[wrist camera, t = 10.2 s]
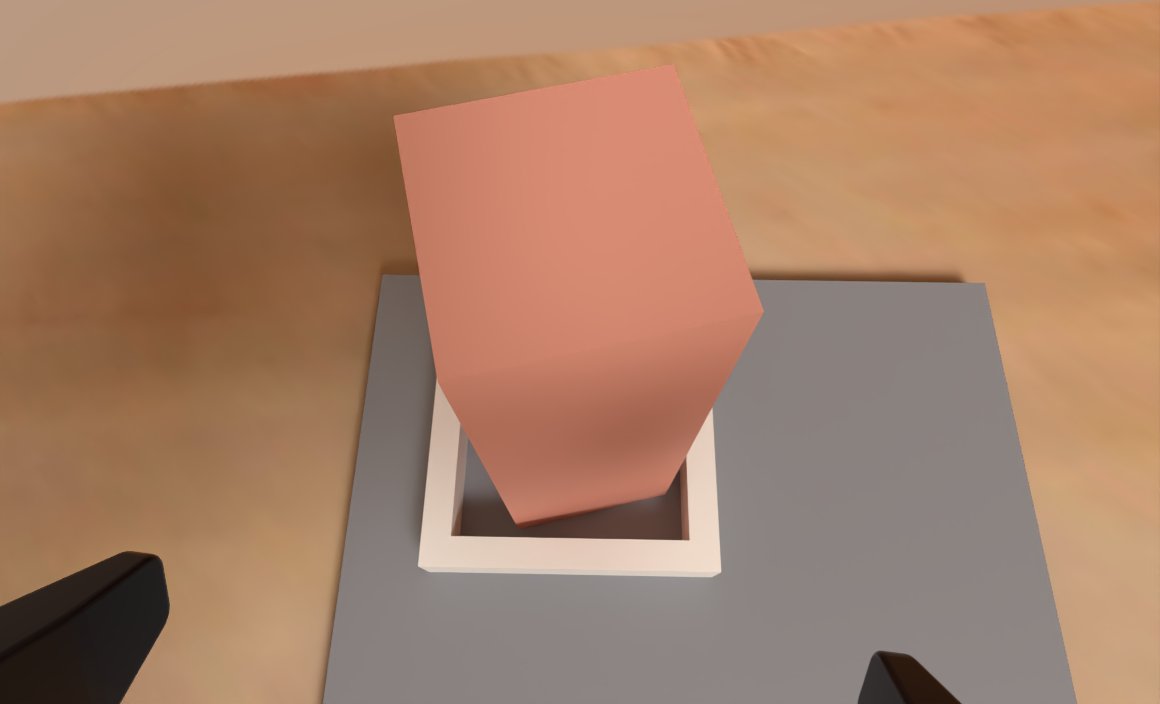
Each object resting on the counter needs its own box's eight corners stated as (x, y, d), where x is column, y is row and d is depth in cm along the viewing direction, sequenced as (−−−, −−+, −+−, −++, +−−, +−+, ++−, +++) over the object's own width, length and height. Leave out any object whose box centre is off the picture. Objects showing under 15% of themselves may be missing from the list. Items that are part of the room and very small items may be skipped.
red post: (518, 529, 21) (437, 382, 9) (490, 389, 22) (392, 116, 11) (665, 494, 21) (764, 311, 10) (627, 359, 23) (673, 63, 11)
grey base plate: (320, 788, 19) (287, 806, 17) (388, 285, 25) (370, 251, 23) (1080, 805, 19) (1144, 826, 17) (972, 293, 24) (1009, 260, 22)
